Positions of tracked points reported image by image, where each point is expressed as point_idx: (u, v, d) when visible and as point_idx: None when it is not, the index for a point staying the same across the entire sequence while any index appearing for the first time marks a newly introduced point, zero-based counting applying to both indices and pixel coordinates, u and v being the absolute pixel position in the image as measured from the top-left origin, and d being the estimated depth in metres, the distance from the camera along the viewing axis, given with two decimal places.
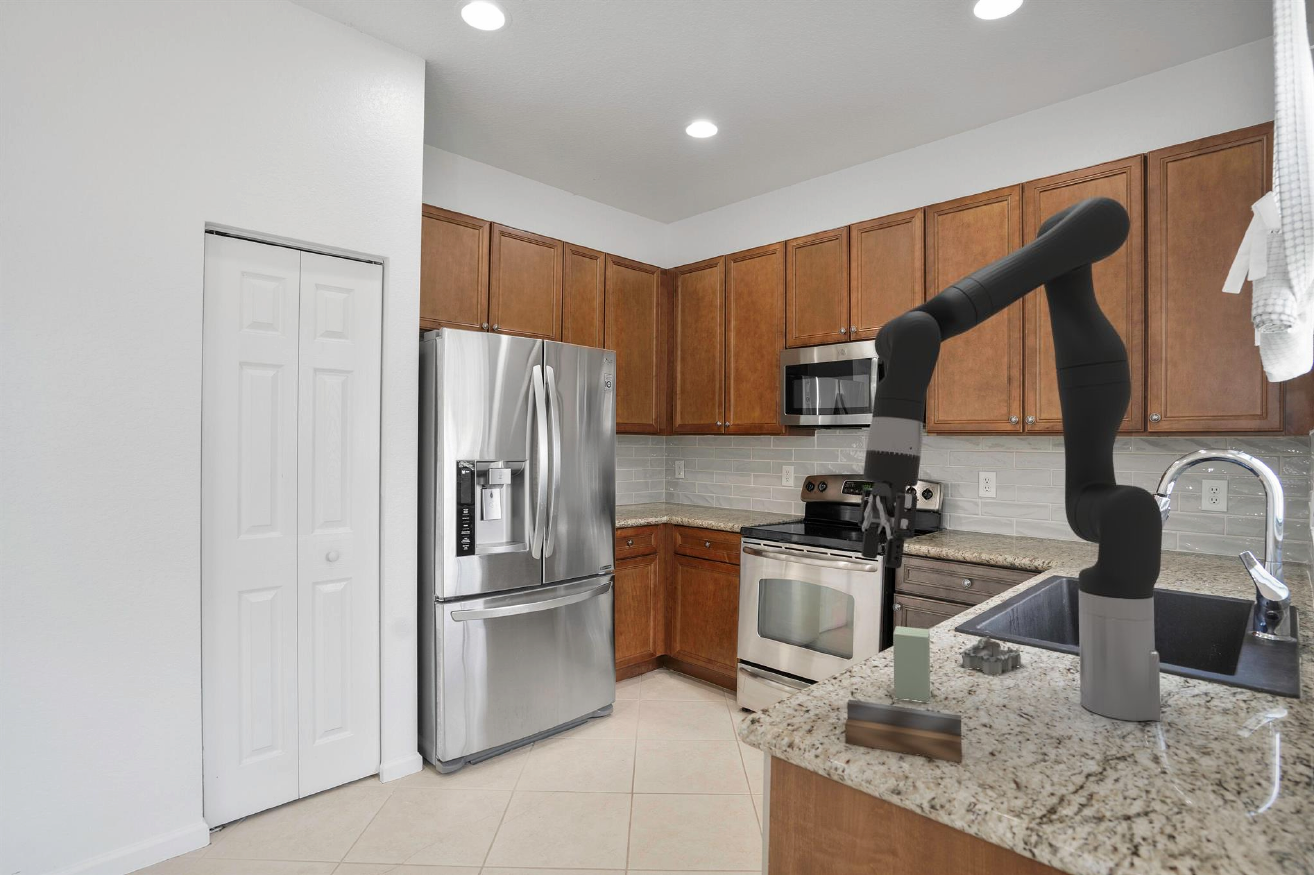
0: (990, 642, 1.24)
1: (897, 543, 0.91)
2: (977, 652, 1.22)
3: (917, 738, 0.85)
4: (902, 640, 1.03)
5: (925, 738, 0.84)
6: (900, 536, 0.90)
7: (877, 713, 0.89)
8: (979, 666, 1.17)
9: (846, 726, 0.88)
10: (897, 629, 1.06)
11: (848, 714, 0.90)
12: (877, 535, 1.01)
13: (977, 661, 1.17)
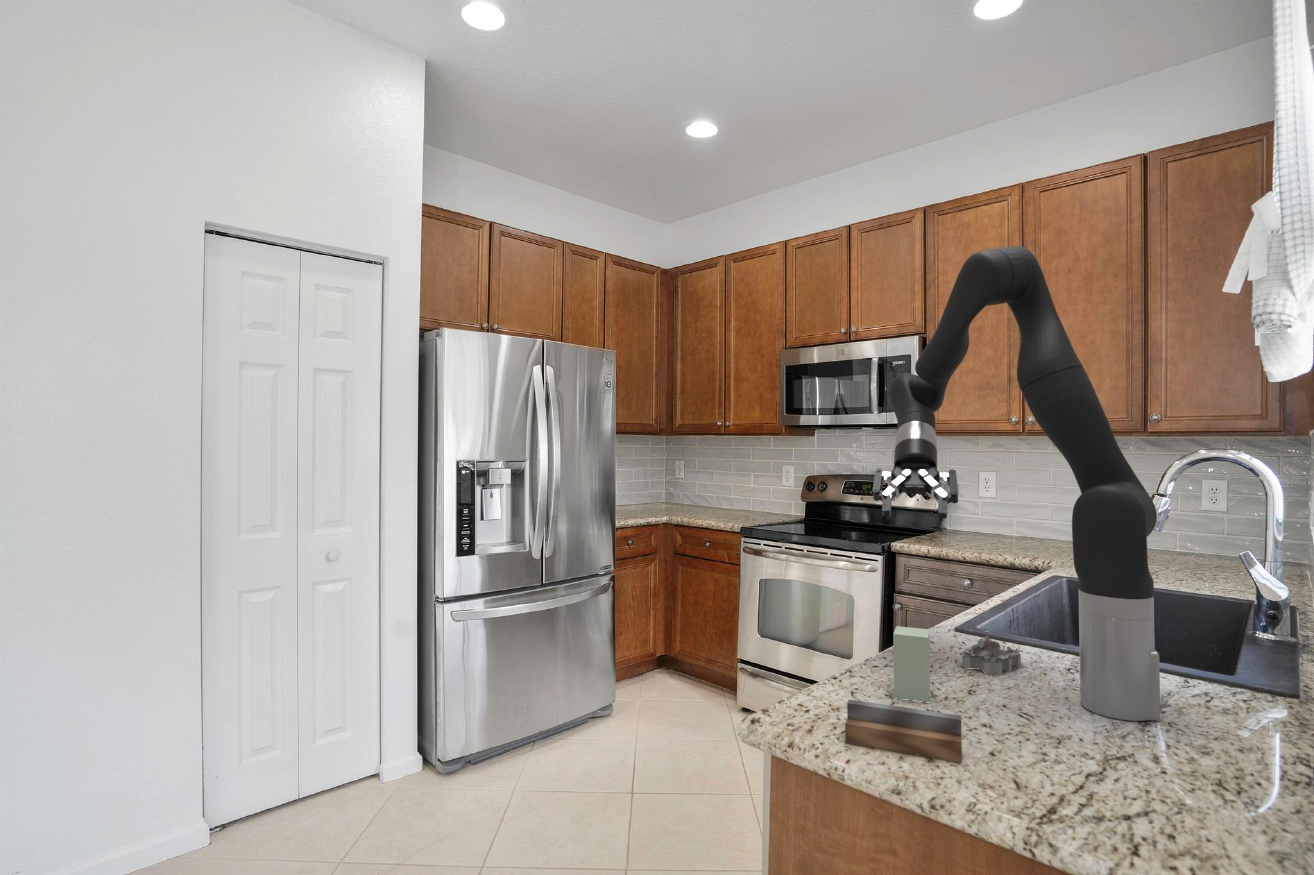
0: (990, 642, 1.24)
1: (883, 501, 1.21)
2: (977, 652, 1.22)
3: (917, 738, 0.85)
4: (902, 640, 1.03)
5: (925, 738, 0.84)
6: (874, 497, 1.22)
7: (877, 713, 0.89)
8: (980, 666, 1.17)
9: (846, 726, 0.88)
10: (897, 629, 1.06)
11: (848, 714, 0.90)
12: None
13: (978, 661, 1.17)
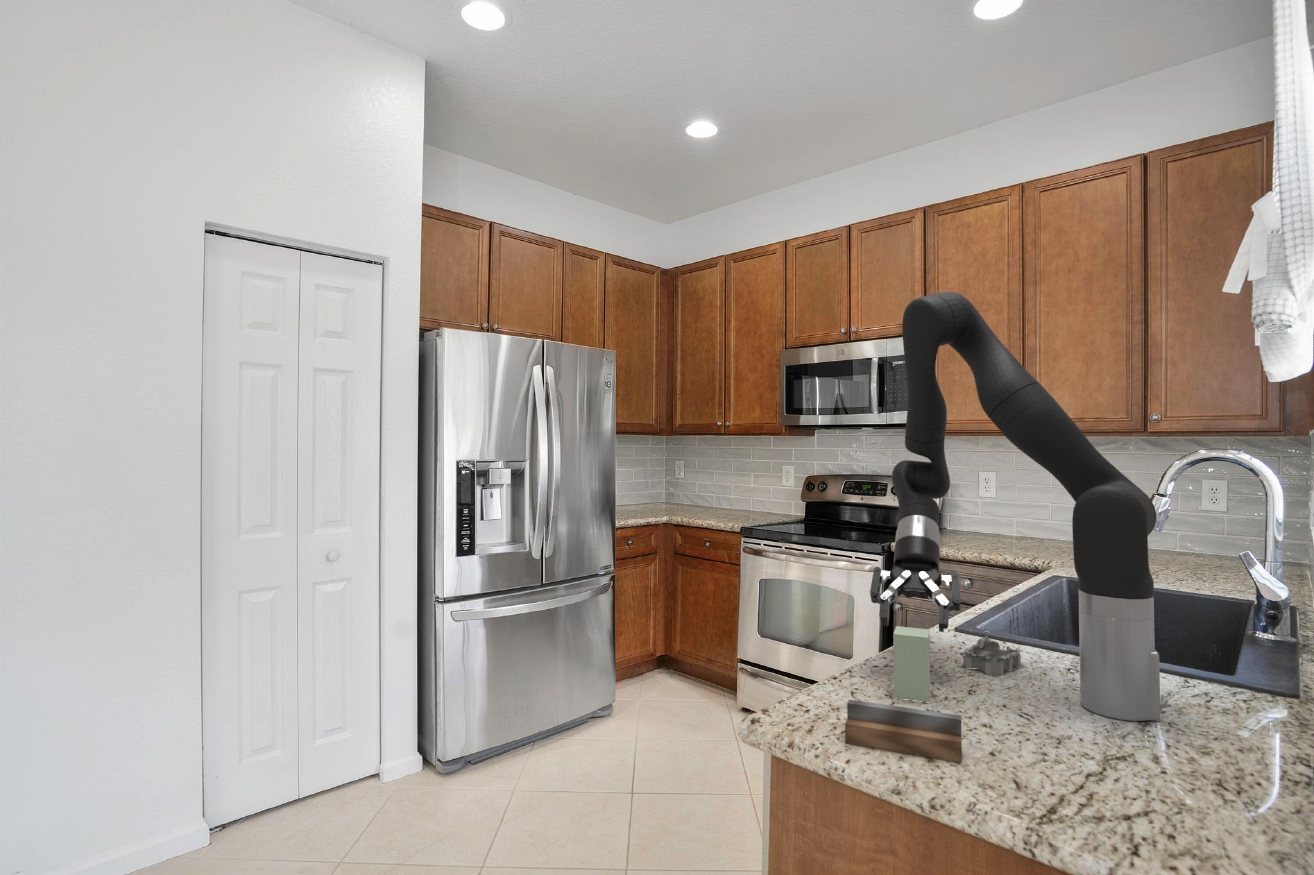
0: (989, 642, 1.24)
1: None
2: (977, 652, 1.22)
3: (917, 738, 0.85)
4: (902, 640, 1.03)
5: (925, 738, 0.84)
6: (872, 600, 1.16)
7: (877, 713, 0.89)
8: (981, 666, 1.17)
9: (846, 726, 0.88)
10: (897, 629, 1.06)
11: (848, 714, 0.90)
12: (939, 607, 1.10)
13: (979, 661, 1.17)
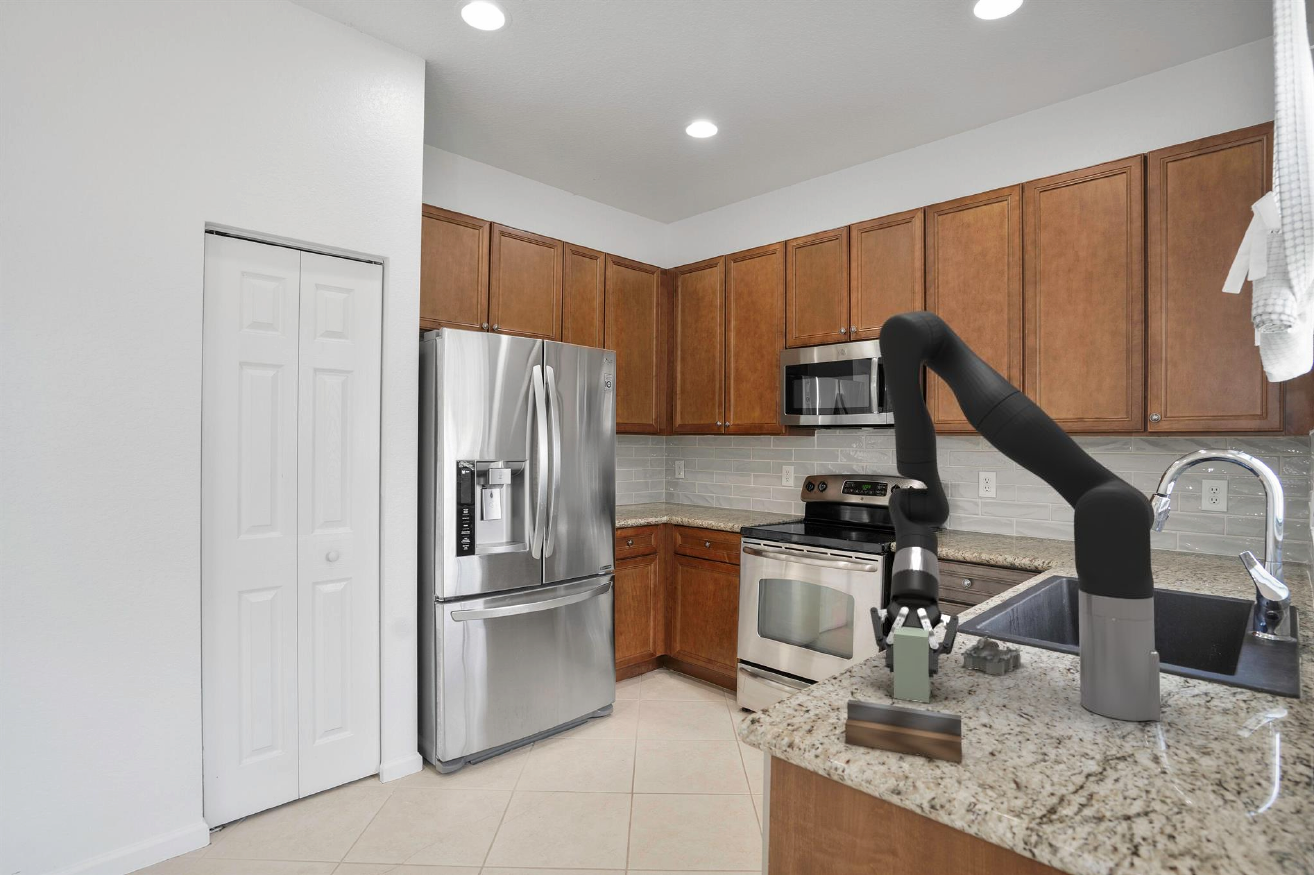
0: (989, 642, 1.24)
1: None
2: (977, 652, 1.22)
3: (917, 738, 0.85)
4: (901, 640, 1.03)
5: (925, 738, 0.84)
6: (877, 643, 1.09)
7: (877, 713, 0.89)
8: (981, 666, 1.17)
9: (846, 726, 0.88)
10: (897, 629, 1.06)
11: (848, 714, 0.90)
12: None
13: (980, 661, 1.17)
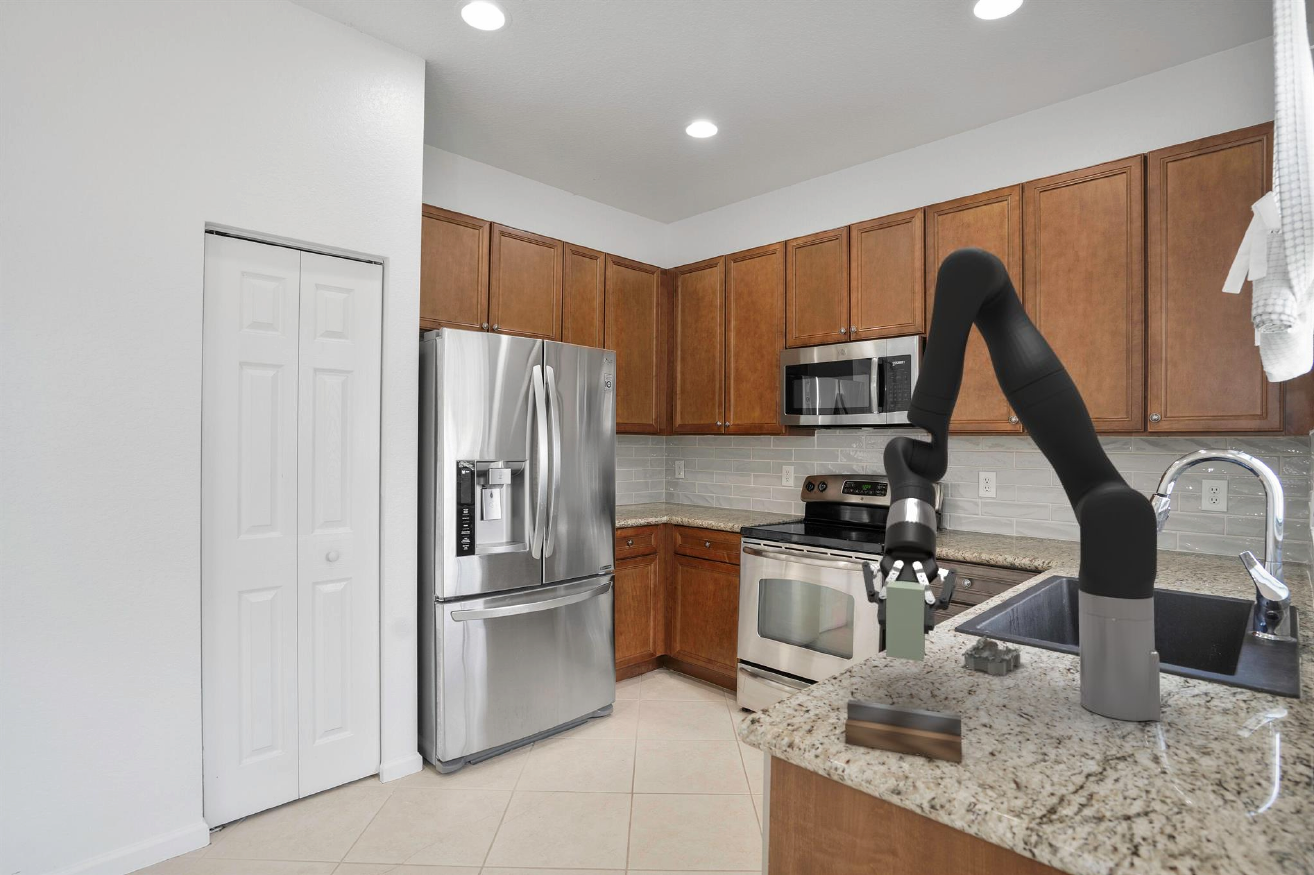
0: (988, 642, 1.24)
1: None
2: (977, 652, 1.22)
3: (917, 738, 0.85)
4: (895, 593, 0.95)
5: (925, 738, 0.84)
6: (869, 599, 1.01)
7: (877, 713, 0.89)
8: (983, 667, 1.17)
9: (846, 726, 0.88)
10: (890, 583, 0.98)
11: (848, 714, 0.90)
12: (924, 606, 0.96)
13: (981, 662, 1.17)
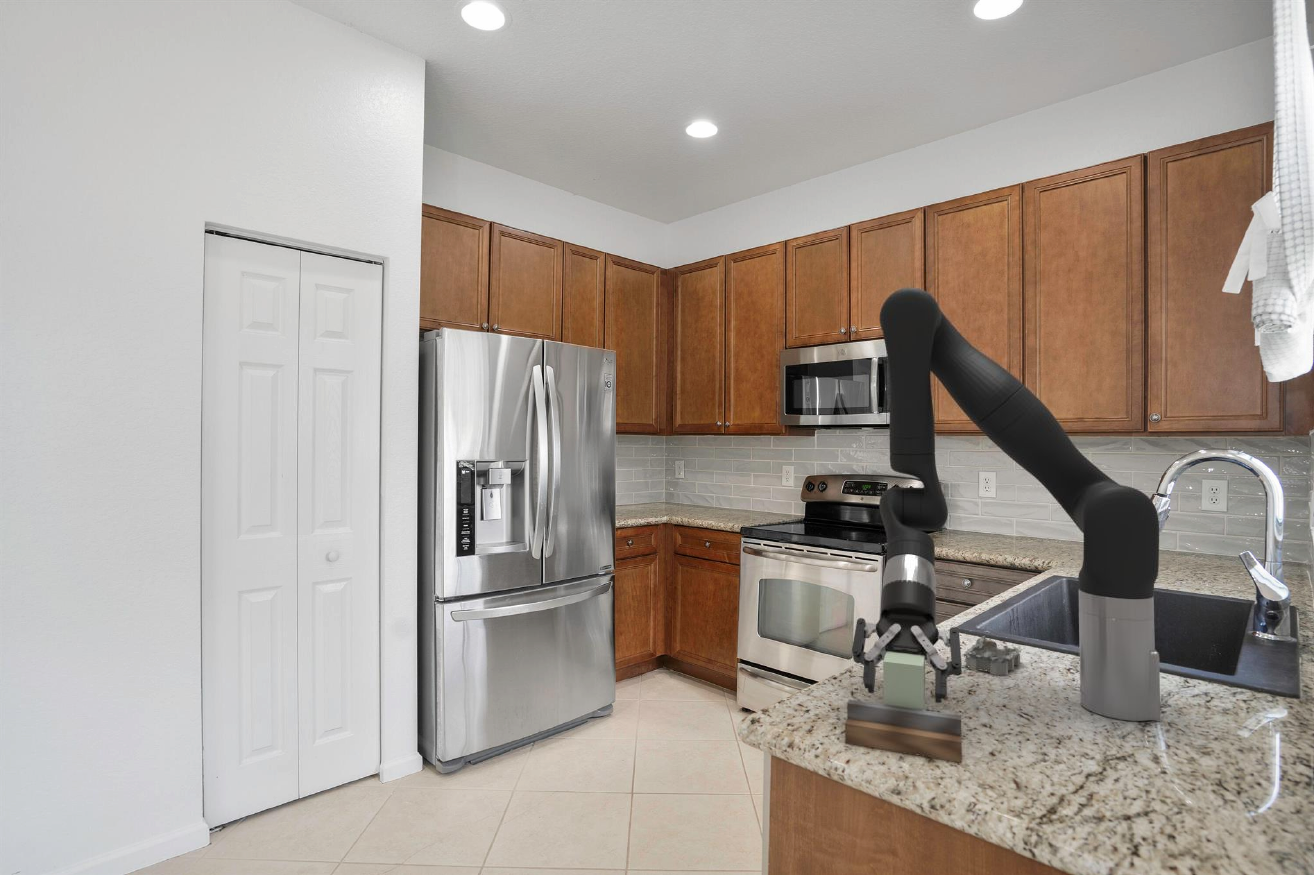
0: (987, 642, 1.24)
1: None
2: (977, 652, 1.22)
3: (917, 738, 0.85)
4: (893, 668, 0.89)
5: (925, 738, 0.84)
6: (855, 659, 0.96)
7: (877, 713, 0.89)
8: (985, 667, 1.16)
9: (846, 726, 0.88)
10: (888, 655, 0.92)
11: (848, 714, 0.90)
12: None
13: (983, 662, 1.17)
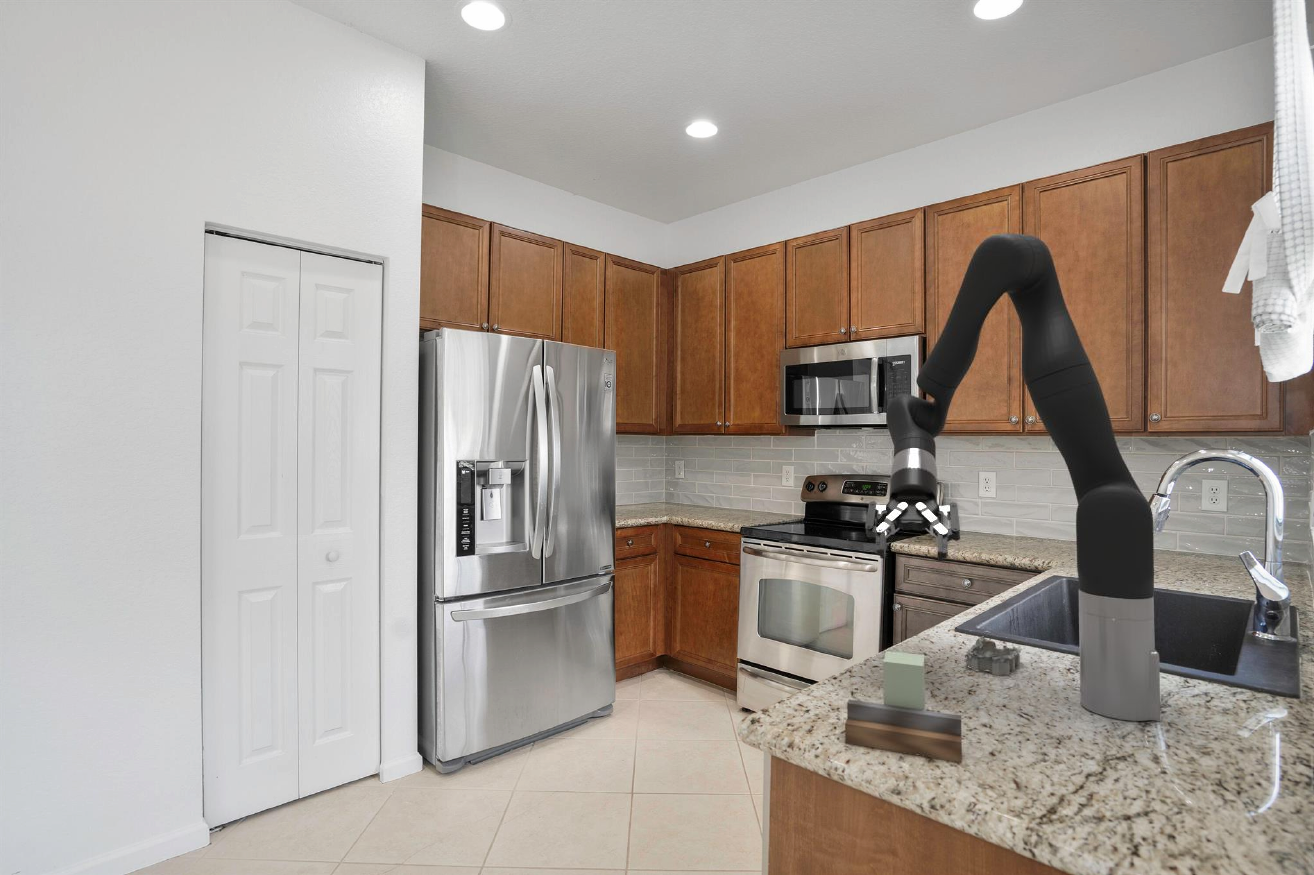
0: (986, 642, 1.24)
1: None
2: (977, 653, 1.22)
3: (917, 738, 0.85)
4: (893, 668, 0.89)
5: (925, 738, 0.84)
6: (868, 534, 1.11)
7: (877, 713, 0.89)
8: (986, 667, 1.16)
9: (846, 726, 0.88)
10: (888, 655, 0.92)
11: (848, 714, 0.90)
12: (937, 537, 1.05)
13: (984, 662, 1.16)
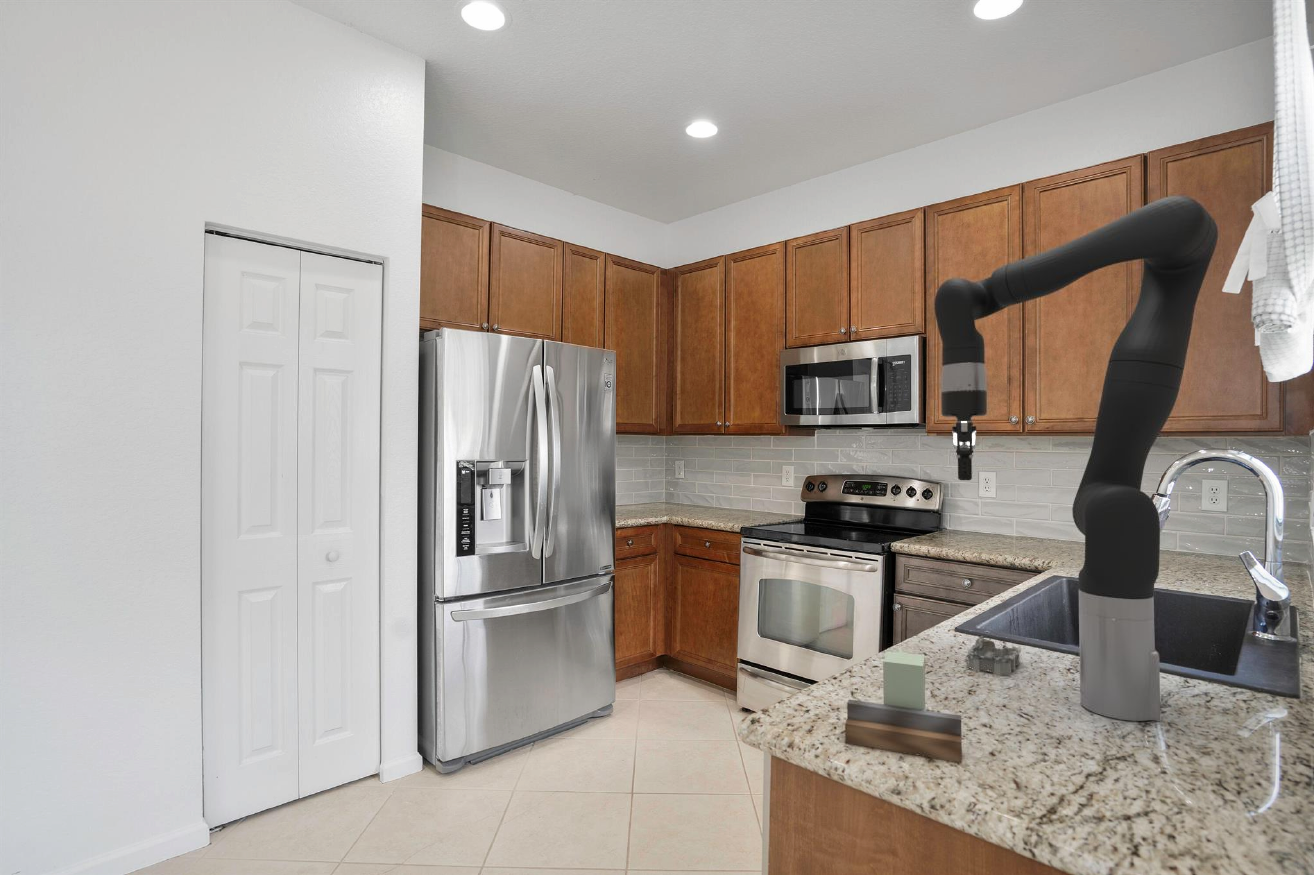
0: (985, 642, 1.24)
1: (964, 460, 1.17)
2: (977, 653, 1.21)
3: (917, 738, 0.85)
4: (893, 668, 0.89)
5: (925, 738, 0.84)
6: (961, 454, 1.15)
7: (877, 713, 0.89)
8: (988, 668, 1.16)
9: (846, 726, 0.88)
10: (888, 655, 0.92)
11: (848, 714, 0.90)
12: None
13: (986, 662, 1.16)
